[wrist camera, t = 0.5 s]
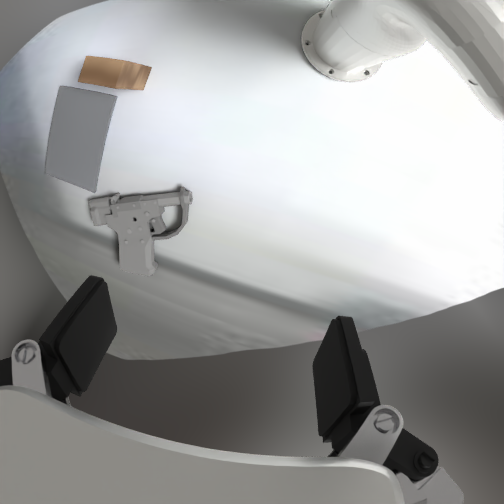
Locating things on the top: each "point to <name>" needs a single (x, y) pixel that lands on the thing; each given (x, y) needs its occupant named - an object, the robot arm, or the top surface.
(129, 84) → the wooden block
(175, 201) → the pistol
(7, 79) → the top surface
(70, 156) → the rubber mat
